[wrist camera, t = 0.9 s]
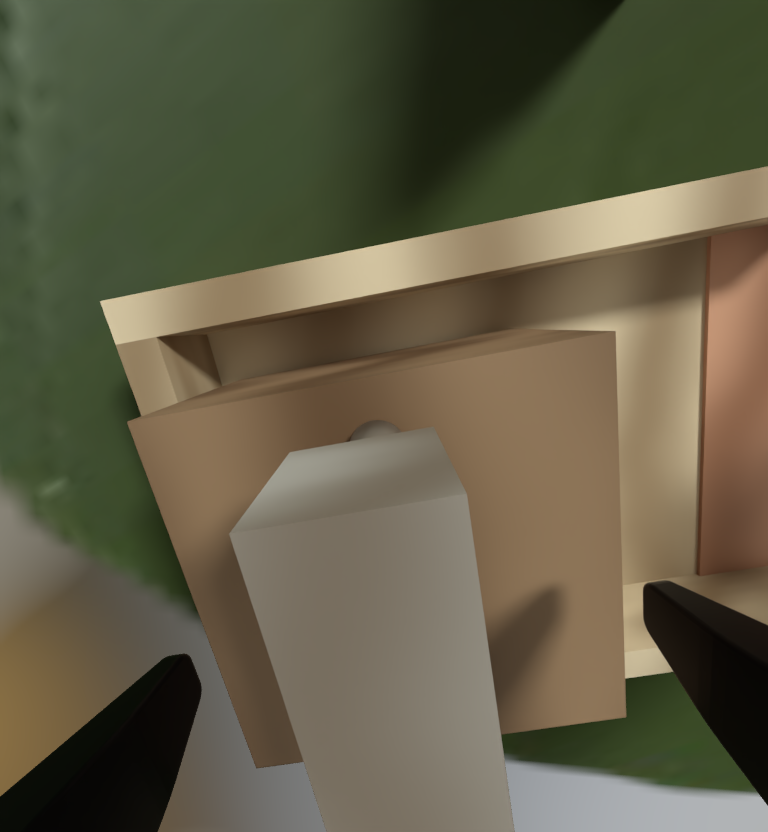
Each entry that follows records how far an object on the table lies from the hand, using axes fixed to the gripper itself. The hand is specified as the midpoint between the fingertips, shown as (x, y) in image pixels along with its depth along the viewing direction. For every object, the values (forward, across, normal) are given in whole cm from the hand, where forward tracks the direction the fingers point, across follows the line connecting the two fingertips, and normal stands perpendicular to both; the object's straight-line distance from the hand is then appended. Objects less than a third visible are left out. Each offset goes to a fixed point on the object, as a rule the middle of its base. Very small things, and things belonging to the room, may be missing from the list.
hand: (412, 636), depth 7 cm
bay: (+9, -4, 0) cm, 9 cm away
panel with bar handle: (+7, 0, 0) cm, 7 cm away
